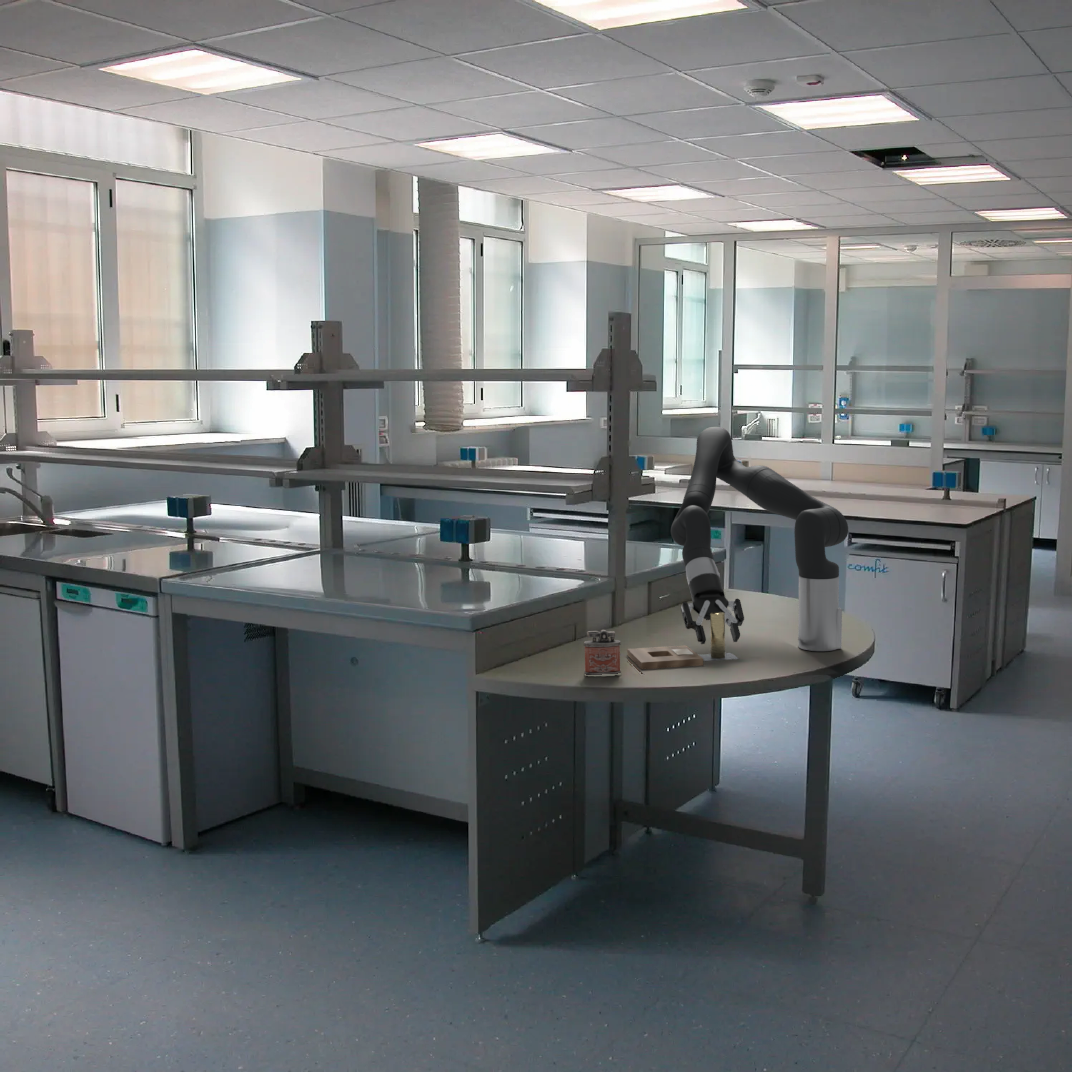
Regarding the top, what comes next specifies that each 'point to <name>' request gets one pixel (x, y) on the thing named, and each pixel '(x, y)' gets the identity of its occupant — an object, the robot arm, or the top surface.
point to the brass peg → (717, 634)
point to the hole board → (664, 657)
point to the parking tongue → (727, 657)
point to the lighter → (602, 653)
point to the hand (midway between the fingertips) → (719, 641)
